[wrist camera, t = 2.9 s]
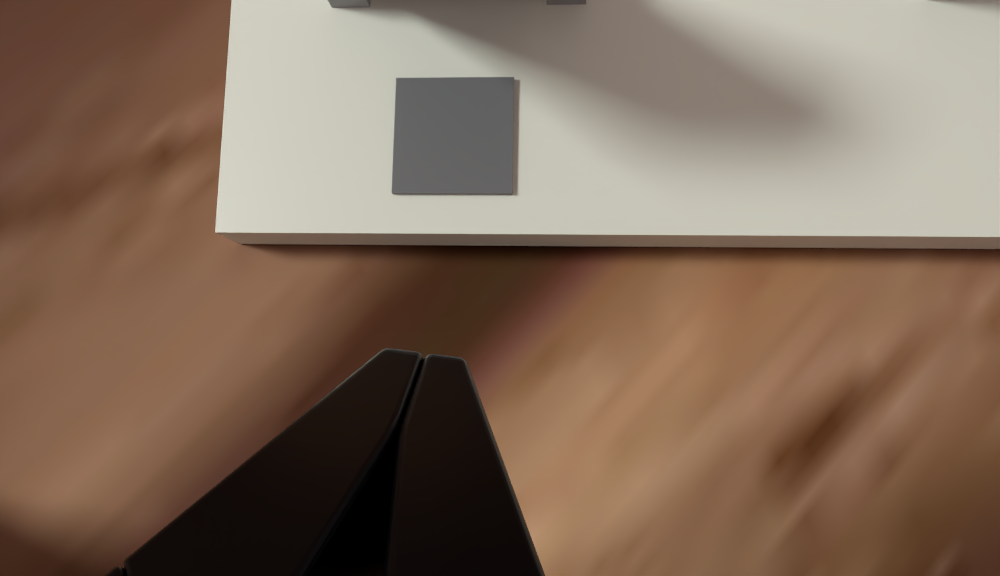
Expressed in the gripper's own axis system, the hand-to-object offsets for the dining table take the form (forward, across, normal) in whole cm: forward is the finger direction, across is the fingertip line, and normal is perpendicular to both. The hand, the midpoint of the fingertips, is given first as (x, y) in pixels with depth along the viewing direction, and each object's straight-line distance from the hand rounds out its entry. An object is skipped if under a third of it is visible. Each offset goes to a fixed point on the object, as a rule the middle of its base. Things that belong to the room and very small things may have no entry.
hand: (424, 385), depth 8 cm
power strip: (+14, -5, +1) cm, 15 cm away
